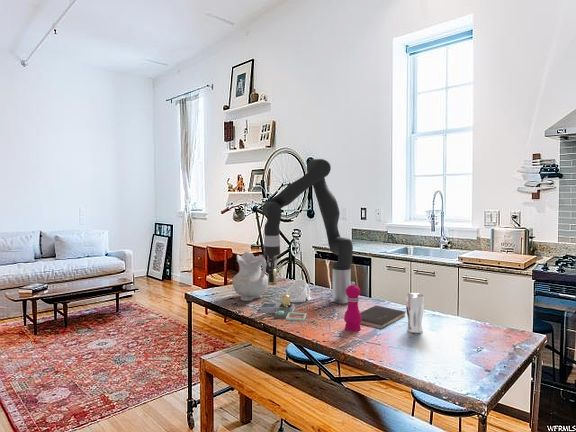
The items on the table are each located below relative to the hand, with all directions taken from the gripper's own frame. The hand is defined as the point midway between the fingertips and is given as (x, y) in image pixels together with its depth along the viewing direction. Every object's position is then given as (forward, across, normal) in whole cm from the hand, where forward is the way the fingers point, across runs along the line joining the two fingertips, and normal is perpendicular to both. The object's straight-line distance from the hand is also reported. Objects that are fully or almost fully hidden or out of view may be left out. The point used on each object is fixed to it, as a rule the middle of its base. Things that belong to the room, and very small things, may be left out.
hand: (272, 280), depth 189 cm
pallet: (+15, +2, -2) cm, 16 cm away
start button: (+14, -8, -5) cm, 17 cm away
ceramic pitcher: (+16, +23, +15) cm, 32 cm away
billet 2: (+14, +2, -6) cm, 16 cm away
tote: (+15, -8, -12) cm, 21 cm away
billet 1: (+1, 0, 0) cm, 1 cm away
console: (+15, -8, -5) cm, 18 cm away
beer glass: (+15, -17, -62) cm, 66 cm away
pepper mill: (+16, -17, -37) cm, 44 cm away
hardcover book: (+16, -2, -49) cm, 51 cm away
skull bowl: (+16, +21, -11) cm, 28 cm away
